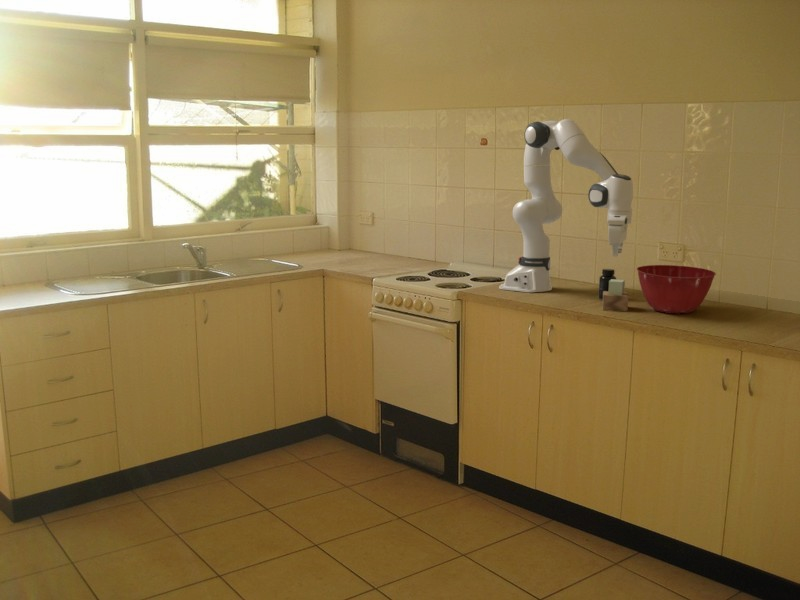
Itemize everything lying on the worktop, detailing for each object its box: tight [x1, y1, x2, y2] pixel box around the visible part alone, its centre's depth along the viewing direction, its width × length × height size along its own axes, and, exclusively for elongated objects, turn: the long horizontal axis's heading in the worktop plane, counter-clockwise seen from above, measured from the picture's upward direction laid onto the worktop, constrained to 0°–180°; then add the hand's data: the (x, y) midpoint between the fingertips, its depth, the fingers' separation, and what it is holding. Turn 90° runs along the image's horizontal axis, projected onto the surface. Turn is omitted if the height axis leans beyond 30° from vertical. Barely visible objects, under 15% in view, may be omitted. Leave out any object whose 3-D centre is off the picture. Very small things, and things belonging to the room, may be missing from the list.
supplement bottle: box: [597, 268, 618, 300], centre depth 334 cm, size 7×7×12 cm
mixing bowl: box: [636, 264, 717, 315], centre depth 311 cm, size 28×28×16 cm
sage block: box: [608, 278, 626, 295], centre depth 314 cm, size 5×5×5 cm
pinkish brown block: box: [601, 291, 629, 312], centre depth 315 cm, size 9×9×6 cm
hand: (617, 254), depth 312 cm, fingers open, 8 cm apart
